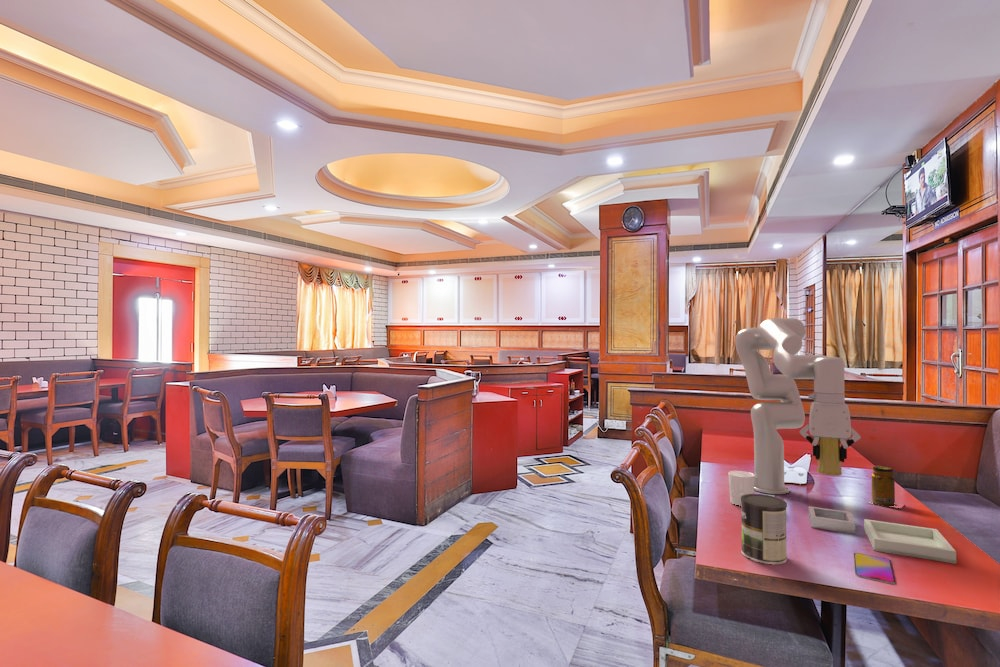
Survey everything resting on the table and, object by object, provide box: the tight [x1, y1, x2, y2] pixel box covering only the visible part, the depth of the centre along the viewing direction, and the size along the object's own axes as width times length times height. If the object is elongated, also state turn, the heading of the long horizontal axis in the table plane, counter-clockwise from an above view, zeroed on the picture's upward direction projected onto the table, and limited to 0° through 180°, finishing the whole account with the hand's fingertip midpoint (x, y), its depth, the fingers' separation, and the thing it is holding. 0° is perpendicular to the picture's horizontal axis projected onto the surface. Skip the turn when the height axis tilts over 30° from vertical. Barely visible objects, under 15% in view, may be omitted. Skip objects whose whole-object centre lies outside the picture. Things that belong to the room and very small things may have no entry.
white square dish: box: [808, 506, 856, 535], centre depth 145 cm, size 10×10×3 cm
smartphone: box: [853, 552, 896, 585], centre depth 118 cm, size 7×1×15 cm
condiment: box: [867, 465, 902, 510], centre depth 163 cm, size 7×8×12 cm
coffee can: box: [740, 493, 788, 566], centre depth 125 cm, size 10×10×14 cm
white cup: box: [727, 470, 755, 507], centre depth 164 cm, size 8×8×10 cm
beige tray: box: [863, 518, 957, 565], centre depth 131 cm, size 16×16×3 cm
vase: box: [816, 437, 843, 477], centre depth 146 cm, size 6×6×14 cm
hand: (829, 459), depth 146 cm, fingers closed on vase, 5 cm apart
